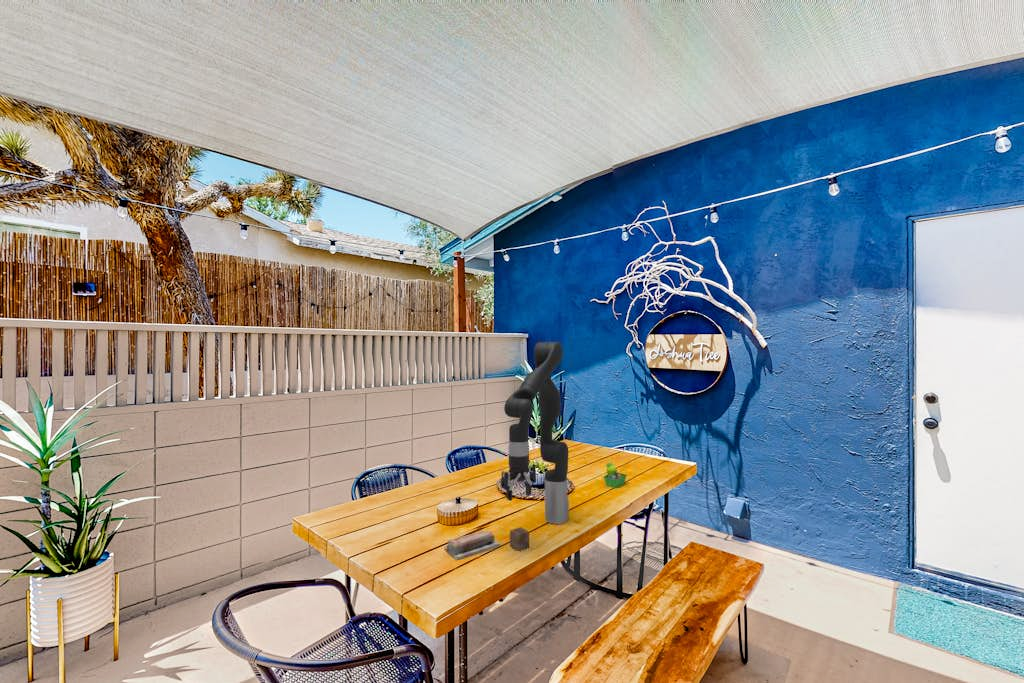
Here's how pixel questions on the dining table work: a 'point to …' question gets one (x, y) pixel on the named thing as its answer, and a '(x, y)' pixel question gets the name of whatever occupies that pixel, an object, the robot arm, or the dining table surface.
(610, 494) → the dining table surface
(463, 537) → the packaged product
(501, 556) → the dining table surface
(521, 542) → the walnut block
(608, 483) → the potted cactus
